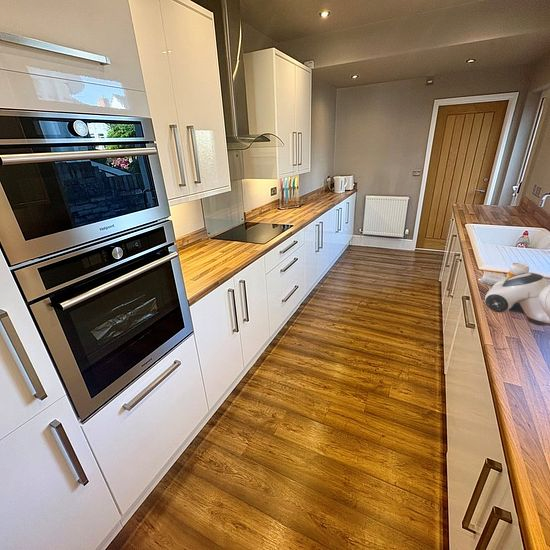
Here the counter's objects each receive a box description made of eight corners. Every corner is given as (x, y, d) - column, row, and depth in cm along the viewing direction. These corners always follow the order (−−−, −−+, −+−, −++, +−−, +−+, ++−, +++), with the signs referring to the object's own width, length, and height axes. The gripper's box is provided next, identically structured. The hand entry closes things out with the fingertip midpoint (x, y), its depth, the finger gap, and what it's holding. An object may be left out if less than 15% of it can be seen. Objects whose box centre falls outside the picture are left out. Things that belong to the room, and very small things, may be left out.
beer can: (516, 302, 119) (529, 269, 113) (498, 297, 123) (510, 265, 117) (517, 297, 123) (530, 265, 117) (500, 292, 127) (512, 261, 121)
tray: (519, 297, 128) (522, 290, 126) (526, 313, 116) (529, 307, 114) (489, 291, 133) (491, 285, 131) (493, 306, 121) (495, 300, 119)
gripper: (474, 287, 120) (484, 277, 129) (537, 306, 106) (544, 294, 115) (479, 273, 117) (488, 264, 126) (544, 291, 104) (550, 280, 112)
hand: (515, 279), depth 120 cm, fingers closed on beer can, 6 cm apart
